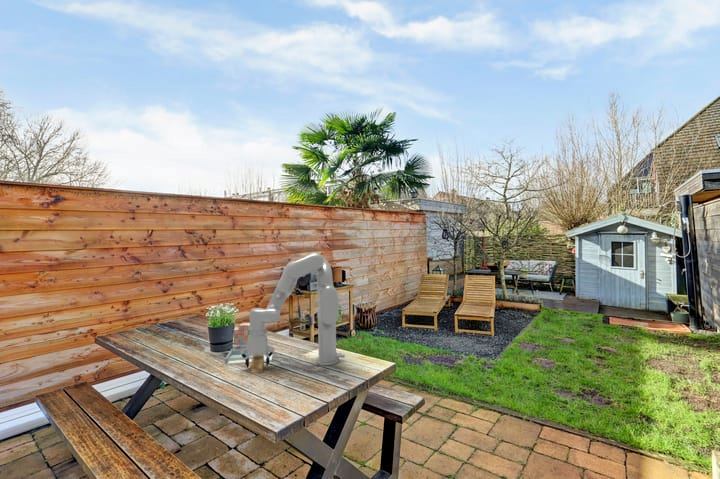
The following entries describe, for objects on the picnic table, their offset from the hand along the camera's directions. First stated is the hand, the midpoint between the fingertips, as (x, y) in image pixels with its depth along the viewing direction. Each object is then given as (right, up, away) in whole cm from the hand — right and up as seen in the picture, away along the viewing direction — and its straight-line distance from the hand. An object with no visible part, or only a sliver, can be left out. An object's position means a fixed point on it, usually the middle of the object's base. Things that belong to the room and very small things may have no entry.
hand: (257, 365), depth 174 cm
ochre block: (0, -2, 0) cm, 2 cm away
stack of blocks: (-23, -2, +45) cm, 50 cm away
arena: (-9, -2, +16) cm, 18 cm away
